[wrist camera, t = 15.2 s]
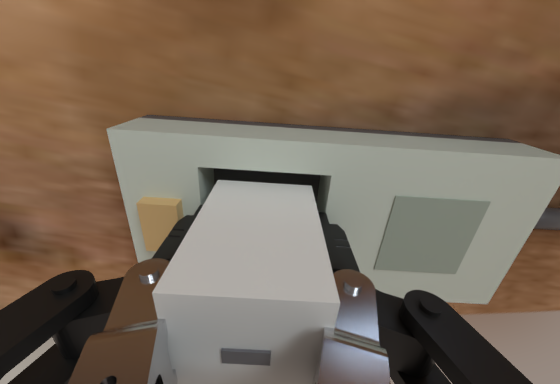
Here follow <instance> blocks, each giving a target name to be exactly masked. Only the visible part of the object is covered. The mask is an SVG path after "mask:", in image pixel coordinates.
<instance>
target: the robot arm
mask: <svg viewBox="0 0 560 384" xmlns="http://www.w3.org/2000/svg"><path fill="white" fill-rule="evenodd" d="M202 206H203V205H199V207H198V209H197V210H196V212H195V213H194V215H186V216H185V217H183V218H182V219H180V220H179V221H177V223H176V224H175V226H174V227H173V228H172V230H171V231H170V233H169V234H168V237H166V238H165V240H164V241H163V243H162V244H161V246H160V247H159V249H158V250H157V251H156V253H155V254H154V256H153V257H152V259H148V260H144V261H142V262H139V263H137V264H136V265H134V266H133V267H131V268H130V269H129V270H128V271H127V273H126V274H125V276H124V277H121V278H116V279H110V280H105V281H99V282H96V281H95V278H94V276H93V274H92V273H91V272H89V271H86V270H75V271H69V272H65V273H62V274H60V275H57V276H55V277H53V278H51V279H49V280H48V281H46V282H45V283H43V284H41V285H40V286H38V287H37V288H35V289H33V290H32V291H30V292H29V293H27V294H25V295H24V296H22V297H21V298H19V299H17V300H16V301H14V302H13V303H11V304H9V305H8V306H6V307H5V308H3V309H1V310H0V380H1V378H2V377H3V376H4V375H5V374H6V373H8V372H9V371H10V370H11V369H12V368H14V367H15V366H16V365H17V364H19V363H20V362H21V361H22V360H24V359H25V358H26V357H27V356H29V355H30V354H31V353H32V352H34V351H35V350H36V349H37V348H38V347H40V346H41V345H42V344H43V343H45V342H46V341H47V340H48V339H49V338H51V337H53V339H54V341H55V343H56V344H54V345H53V346H52V347H51V348H50V349H48V350H47V351H46V352H45V353H44V354H42V355H41V356H40V357H39V358H38V359H36V360H35V361H34V362H33V363H32V364H30V365H29V366H28V367H27V368H26V369H25V370H23V371H22V372H21V373H20V374H19V375H17V376H16V377H15V378H14V379H13V380H12V381H10V382H9V383H8V384H177V380H178V379H177V374H176V370H175V369H172V367H171V362H170V357H169V352H168V343H167V339H168V330H167V325H166V320H165V319H159V318H157V314H156V309H155V305H154V300H153V296H152V292H153V290H154V289H155V287H156V285H157V283H158V282H159V280H160V278H161V277H162V275H163V273H164V271H165V270H166V268H167V266H168V265H169V263H170V261H171V259H172V258H173V256H174V254H175V253H176V251H177V249H178V247H179V246H180V244H181V242H182V241H183V239H184V237H185V235H186V234H187V232H188V230H189V229H190V227H191V225H192V223H193V222H194V220H195V218H196V217H197V215H198V213H199V211H200V210H201V208H202ZM318 213H319V218H320V222H321V226H322V230H323V234H324V238H325V242H326V246H327V250H328V254H329V259H330V263H331V267H332V271H333V275H334V279H335V283H336V287H337V291H338V295H339V300H340V307H339V311H338V315H337V319H336V324H335V328H330V327H324V330H323V335H322V340H321V346H320V352H319V357H318V362H317V366H316V371H315V376H314V377H313V382H312V384H391V383H390V377H391V379H392V380H393V382H394V383H395V384H451V383H450V382H449V380H450V381H451V382H452V383H453V384H533V383H531V382H530V381H529V380H528V379H527V378H526V377H525V376H524V375H523V374H522V373H521V372H520V371H519V370H518V369H516V368H515V367H514V366H513V365H512V364H511V363H510V362H509V361H508V360H507V359H506V358H505V357H504V356H503V355H502V354H501V353H500V352H498V351H497V350H496V349H495V348H494V347H493V346H492V345H491V344H490V343H489V342H488V341H487V340H486V339H484V337H482V336H481V335H480V334H479V333H478V332H477V331H476V330H475V329H474V328H473V327H472V326H471V325H470V324H469V323H468V322H466V321H465V320H464V319H463V318H462V317H461V316H460V315H459V314H458V313H457V312H456V311H455V310H454V309H453V308H452V307H451V306H449V305H448V304H447V303H446V302H445V301H444V300H442V299H441V298H440V297H438V296H436V295H434V294H432V293H430V292H427V291H423V290H411V291H409V292H407V293H406V294H405V297H404V299H403V298H399V297H396V296H393V295H390V294H386V293H383V292H381V291H379V290H377V289H375V286H374V284H373V283H372V281H371V280H370V279H369V278H368V277H367V276H365V275H364V274H362V273H360V270H359V268H358V265H357V262H356V260H355V257H354V255H353V252H352V249H351V248H350V244H349V241H348V239H347V236H346V234H345V231H344V230H343V229H342V228H341V227H340V226H339V225H338V224H329V221H328V217H327V214H326V213H325V212H318ZM435 363H436V364H437V365H438V366H439V367H440V369H441V370H442V371H443V372H444V374H445V375H446V376H447V377H448V379H449V380H448V379H447V378H446V377H445V375H444V374H443V373H442V372H441V371H440V369H439V368H438V367H437V366H436V364H435Z"/></svg>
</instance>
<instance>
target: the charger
mask: <svg viewBox="0 0 560 384" xmlns="http://www.w3.org/2000/svg"><path fill="white" fill-rule="evenodd" d="M152 296H153V300H154V305H155V309H156V314H157V318H159V319H165V320H166V325H167V330H168V339H167V343H168V352H169V357H170V362H171V367H172V369H175V370H176V374H177V379H178V380H177V384H312V382H313V377H314V376H315V371H316V366H317V362H318V357H319V352H320V346H321V340H322V335H323V330H324V327H330V328H335V324H336V319H337V315H338V311H339V307H340V300H339V295H338V291H337V287H336V283H335V279H334V275H333V271H332V267H331V263H330V259H329V254H328V250H327V246H326V242H325V238H324V234H323V230H322V226H321V222H320V218H319V213H318V209H317V205H316V201H315V197H314V193H313V189H312V186H309V185H293V184H277V183H261V182H245V181H229V180H218V181H217V182H216V184H215V186H214V187H213V189H212V191H211V193H210V194H209V196H208V198H207V199H206V201H205V203H204V205H203V206H202V208H201V210H200V211H199V213H198V215H197V217H196V218H195V220H194V222H193V223H192V225H191V227H190V229H189V230H188V232H187V234H186V235H185V237H184V239H183V241H182V242H181V244H180V246H179V247H178V249H177V251H176V253H175V254H174V256H173V258H172V259H171V261H170V263H169V265H168V266H167V268H166V270H165V271H164V273H163V275H162V277H161V278H160V280H159V282H158V283H157V285H156V287H155V289H154V290H153V292H152Z"/></svg>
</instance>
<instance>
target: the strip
mask: <svg viewBox="0 0 560 384" xmlns="http://www.w3.org/2000/svg"><path fill="white" fill-rule="evenodd" d="M107 133H108V138H109V142H110V146H111V150H112V155H113V159H114V163H115V167H116V171H117V176H118V180H119V184H120V188H121V192H122V197H123V201H124V205H125V209H126V213H127V218H128V222H129V226H130V230H131V235H132V239H133V243H134V247H135V251H136V256H137V260H138V263H139V262H142V261H144V260H148V259H152V257H153V256H154V254H155V253H156V251H157V250H158V249H159V247H160V246H161V244H162V243H163V241H164V240H165V238H166V237H168V234H169V233H170V231H171V230H172V228H173V227H174V226H175V224H176V223H177V221H179V220H180V219H182V218H183V217H185V216H186V215H194V213H195V212H196V210H197V209H198V207H199V205H204V203H205V201H206V199H207V198H208V196H209V194H210V193H211V191H212V189H213V187H214V186H215V184H216V182H217V181H218V180H229V181H245V182H261V183H277V184H293V185H309V186H312V189H313V193H314V197H315V201H316V205H317V209H318V212H325V213H326V214H327V217H328V221H329V224H338V225H339V226H340V227H341V228H342V229H343V230H344V231H345V234H346V236H347V239H348V241H349V244H350V248H351V249H352V252H353V255H354V257H355V260H356V262H357V265H358V268H359V270H360V273H362V274H364V275H365V276H367V277H368V278H369V279H370V280H371V281H372V283H373V284H374V286H375V289H377V290H379V291H381V292H383V293H386V294H390V295H393V296H396V297H399V298H403V299H404V297H405V294H406V293H407V292H409V291H411V290H423V291H427V292H430V293H432V294H434V295H436V296H438V297H440V298H441V299H442V300H444V301H445V302H454V303H472V304H488V303H489V301H490V299H491V298H492V296H493V294H494V293H495V291H496V290H497V288H498V286H499V285H500V283H501V281H502V280H503V278H504V276H505V275H506V273H507V271H508V270H509V268H510V266H511V265H512V263H513V262H514V260H515V258H516V257H517V255H518V253H519V252H520V250H521V248H522V247H523V245H524V243H525V242H526V240H527V239H528V237H529V235H530V234H531V232H532V230H533V229H547V230H560V208H546V207H547V206H548V204H549V202H550V201H551V199H552V197H553V196H554V194H555V192H556V191H557V189H558V187H559V186H560V155H558V154H555V153H552V152H548V151H545V150H542V149H539V148H536V147H532V146H529V145H526V144H523V143H520V142H516V141H513V140H510V139H499V138H484V137H469V136H454V135H439V134H424V133H410V132H395V131H380V130H365V129H350V128H335V127H320V126H306V125H291V124H276V123H261V122H246V121H231V120H217V119H202V118H187V117H172V116H157V115H146V116H143V117H140V118H137V119H134V120H131V121H128V122H125V123H122V124H119V125H116V126H113V127H110V128H107Z"/></svg>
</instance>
